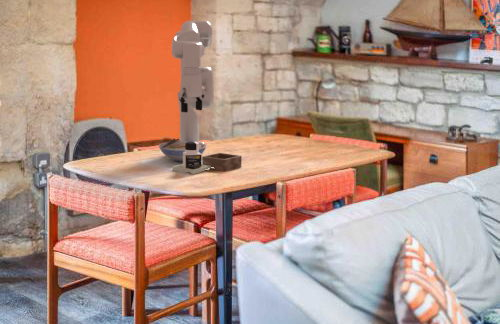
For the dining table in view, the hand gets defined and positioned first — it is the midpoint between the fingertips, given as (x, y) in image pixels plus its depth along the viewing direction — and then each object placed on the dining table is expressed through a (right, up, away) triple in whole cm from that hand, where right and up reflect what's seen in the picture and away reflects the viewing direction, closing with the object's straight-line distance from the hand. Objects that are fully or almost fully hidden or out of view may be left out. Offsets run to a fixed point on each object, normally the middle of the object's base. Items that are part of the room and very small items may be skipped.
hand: (191, 111), depth 331 cm
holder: (+13, -24, +12) cm, 30 cm away
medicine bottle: (0, -25, +5) cm, 26 cm away
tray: (0, -26, +5) cm, 26 cm away
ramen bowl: (-6, -22, +27) cm, 35 cm away
